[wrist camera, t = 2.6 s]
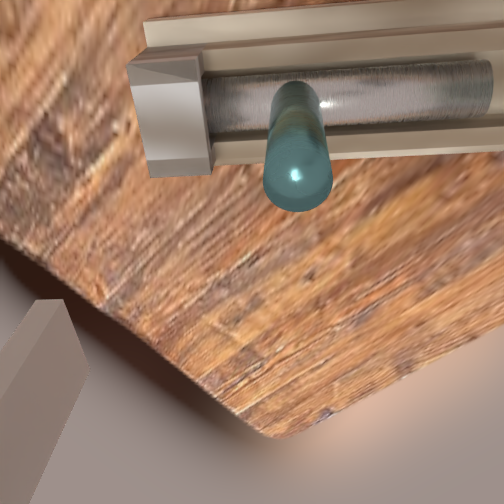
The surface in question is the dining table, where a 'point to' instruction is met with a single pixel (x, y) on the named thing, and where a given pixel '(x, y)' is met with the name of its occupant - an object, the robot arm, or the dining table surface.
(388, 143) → the rail
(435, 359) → the dining table surface
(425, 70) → the sliding bolt
